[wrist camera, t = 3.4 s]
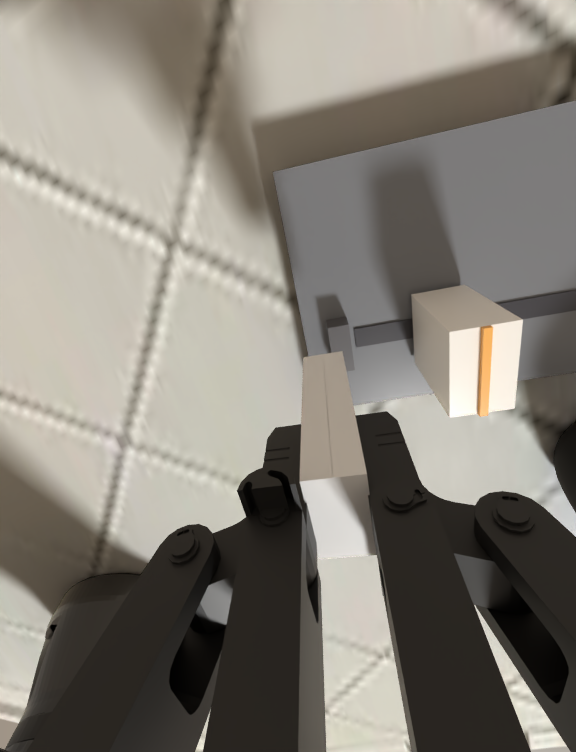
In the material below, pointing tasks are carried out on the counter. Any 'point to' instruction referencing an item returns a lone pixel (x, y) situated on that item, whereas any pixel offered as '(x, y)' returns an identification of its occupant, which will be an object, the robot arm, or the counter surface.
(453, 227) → the console
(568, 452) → the mug
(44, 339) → the counter surface
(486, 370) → the fader tab
